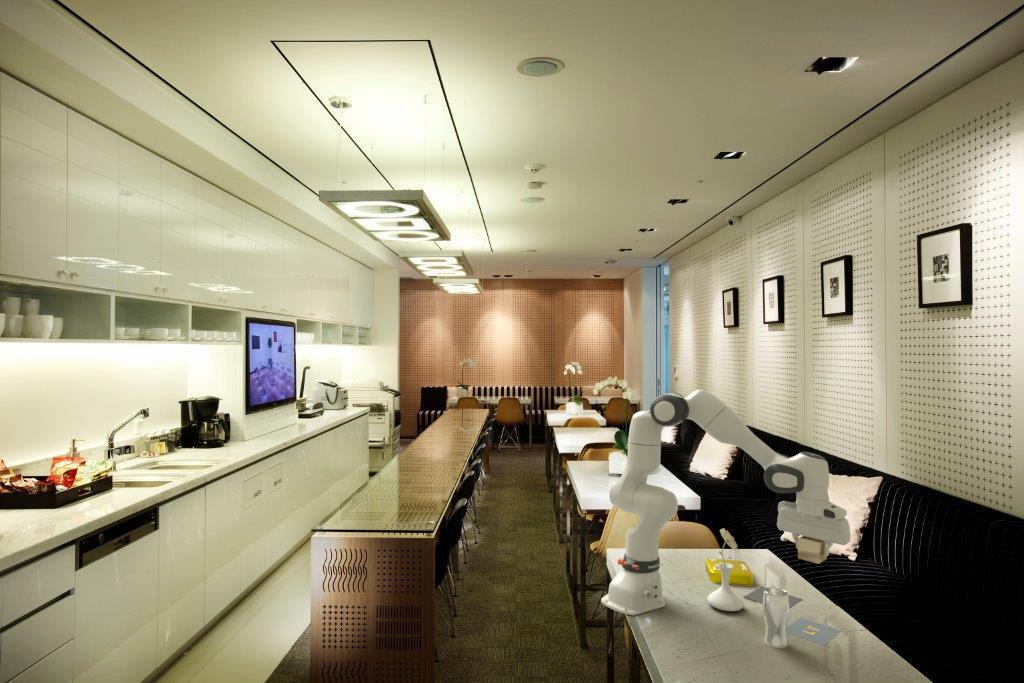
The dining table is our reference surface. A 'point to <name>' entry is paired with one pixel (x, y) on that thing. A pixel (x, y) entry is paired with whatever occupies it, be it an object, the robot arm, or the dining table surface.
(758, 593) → the pad
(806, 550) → the light wood cube
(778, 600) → the beer glass
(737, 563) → the element tile
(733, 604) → the flower in vase
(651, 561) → the robot arm
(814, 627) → the grey flat slab
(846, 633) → the dining table surface
